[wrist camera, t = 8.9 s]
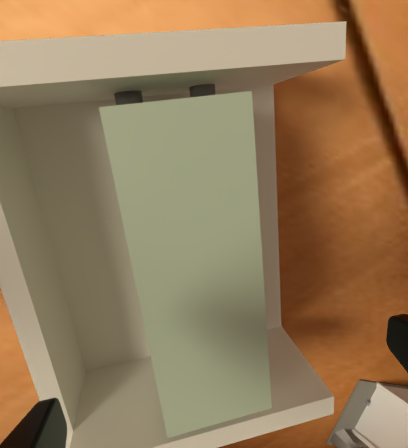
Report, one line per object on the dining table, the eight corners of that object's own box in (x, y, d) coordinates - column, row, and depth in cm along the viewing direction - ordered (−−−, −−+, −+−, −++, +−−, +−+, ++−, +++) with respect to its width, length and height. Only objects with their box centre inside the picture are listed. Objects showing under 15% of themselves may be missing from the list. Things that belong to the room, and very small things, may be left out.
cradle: (277, 333, 23) (333, 413, 16) (76, 380, 20) (47, 497, 14) (266, 63, 17) (346, 21, 11) (-10, 85, 15) (-126, 48, 8)
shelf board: (244, 351, 18) (271, 408, 15) (161, 372, 18) (167, 438, 14) (221, 102, 14) (251, 91, 10) (109, 114, 13) (98, 107, 9)
